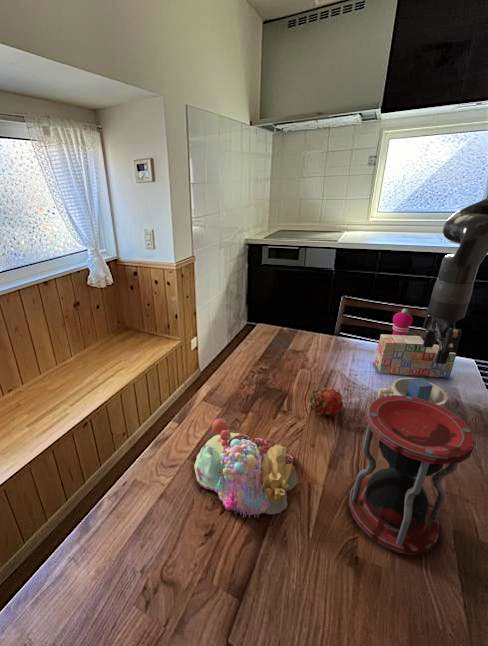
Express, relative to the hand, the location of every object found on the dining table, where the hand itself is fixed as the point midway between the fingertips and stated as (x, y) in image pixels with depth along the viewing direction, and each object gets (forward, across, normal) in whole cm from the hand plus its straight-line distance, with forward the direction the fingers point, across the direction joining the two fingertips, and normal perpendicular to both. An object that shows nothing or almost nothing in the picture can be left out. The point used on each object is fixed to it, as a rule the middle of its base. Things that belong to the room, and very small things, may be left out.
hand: (433, 354), depth 89 cm
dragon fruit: (+20, -3, +25) cm, 32 cm away
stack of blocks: (+20, +24, -6) cm, 32 cm away
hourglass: (+20, -35, +16) cm, 43 cm away
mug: (+20, +4, +1) cm, 21 cm away
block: (+20, +4, -1) cm, 20 cm away
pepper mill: (+20, +32, -3) cm, 38 cm away
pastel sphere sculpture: (+20, -30, +47) cm, 59 cm away
